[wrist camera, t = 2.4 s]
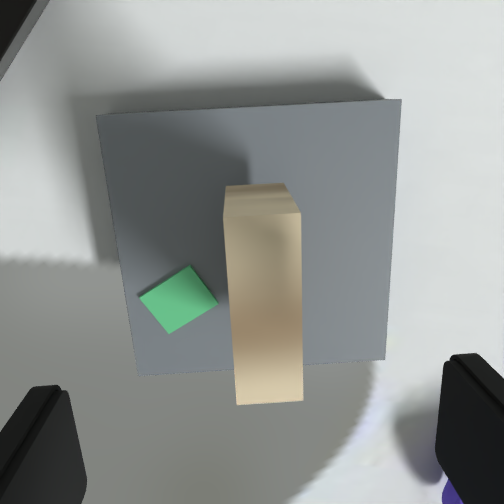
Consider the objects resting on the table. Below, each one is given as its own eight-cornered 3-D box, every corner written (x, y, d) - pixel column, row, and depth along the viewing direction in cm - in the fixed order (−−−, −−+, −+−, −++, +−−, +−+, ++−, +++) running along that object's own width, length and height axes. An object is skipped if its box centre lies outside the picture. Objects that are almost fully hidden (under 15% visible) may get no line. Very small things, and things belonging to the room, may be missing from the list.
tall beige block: (226, 181, 19) (222, 217, 13) (281, 178, 19) (300, 212, 13) (239, 374, 22) (241, 469, 17) (286, 371, 22) (303, 464, 17)
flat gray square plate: (108, 113, 20) (94, 115, 18) (386, 99, 20) (403, 99, 18) (145, 354, 25) (137, 378, 22) (373, 339, 25) (386, 361, 23)
